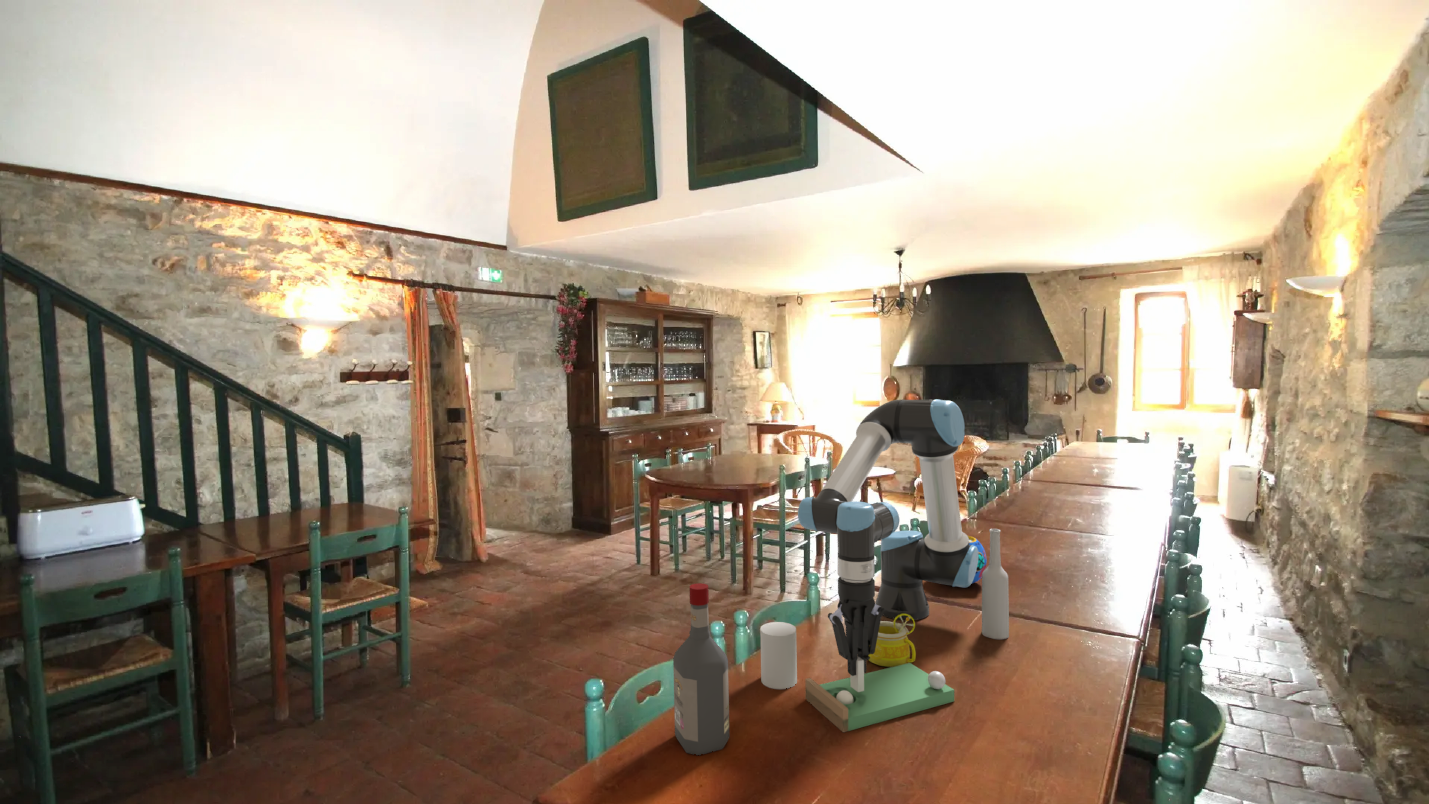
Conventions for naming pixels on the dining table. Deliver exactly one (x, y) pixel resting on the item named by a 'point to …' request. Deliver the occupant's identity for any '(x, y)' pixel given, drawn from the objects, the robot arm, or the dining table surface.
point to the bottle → (995, 593)
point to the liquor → (701, 683)
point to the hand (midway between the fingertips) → (857, 688)
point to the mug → (893, 644)
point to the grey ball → (936, 680)
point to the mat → (877, 697)
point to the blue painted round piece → (981, 558)
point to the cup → (778, 655)
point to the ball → (845, 697)
